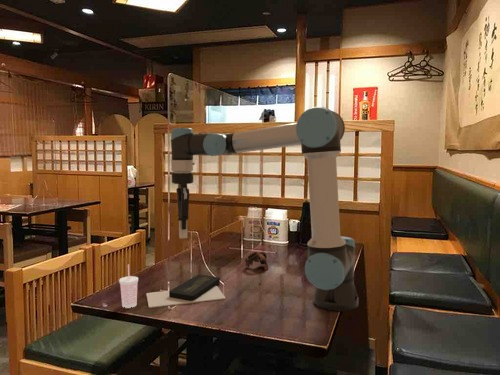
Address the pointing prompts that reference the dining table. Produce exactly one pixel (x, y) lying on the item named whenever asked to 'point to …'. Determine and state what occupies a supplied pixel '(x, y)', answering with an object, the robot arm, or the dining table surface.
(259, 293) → the dining table surface
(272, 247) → the dining table surface
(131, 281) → the beverage cup
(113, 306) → the dining table surface
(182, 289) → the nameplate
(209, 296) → the beige mat
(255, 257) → the pottery mug
